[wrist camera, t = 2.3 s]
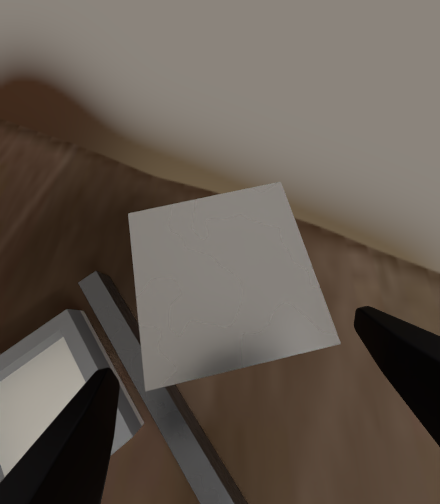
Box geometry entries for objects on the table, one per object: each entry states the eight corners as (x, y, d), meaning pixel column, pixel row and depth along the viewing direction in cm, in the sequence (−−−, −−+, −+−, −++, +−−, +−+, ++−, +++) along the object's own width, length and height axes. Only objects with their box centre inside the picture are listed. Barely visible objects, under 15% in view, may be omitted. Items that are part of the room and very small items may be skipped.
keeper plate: (144, 423, 15) (132, 436, 13) (13, 533, 14) (-22, 566, 12) (83, 310, 18) (66, 309, 16) (-33, 392, 16) (-67, 401, 14)
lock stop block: (264, 332, 17) (340, 344, 6) (200, 347, 17) (145, 391, 5) (247, 270, 19) (280, 181, 7) (189, 283, 18) (128, 213, 7)
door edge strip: (266, 534, 13) (272, 568, 11) (247, 554, 13) (250, 593, 11) (109, 276, 19) (95, 270, 17) (93, 287, 18) (78, 282, 17)
